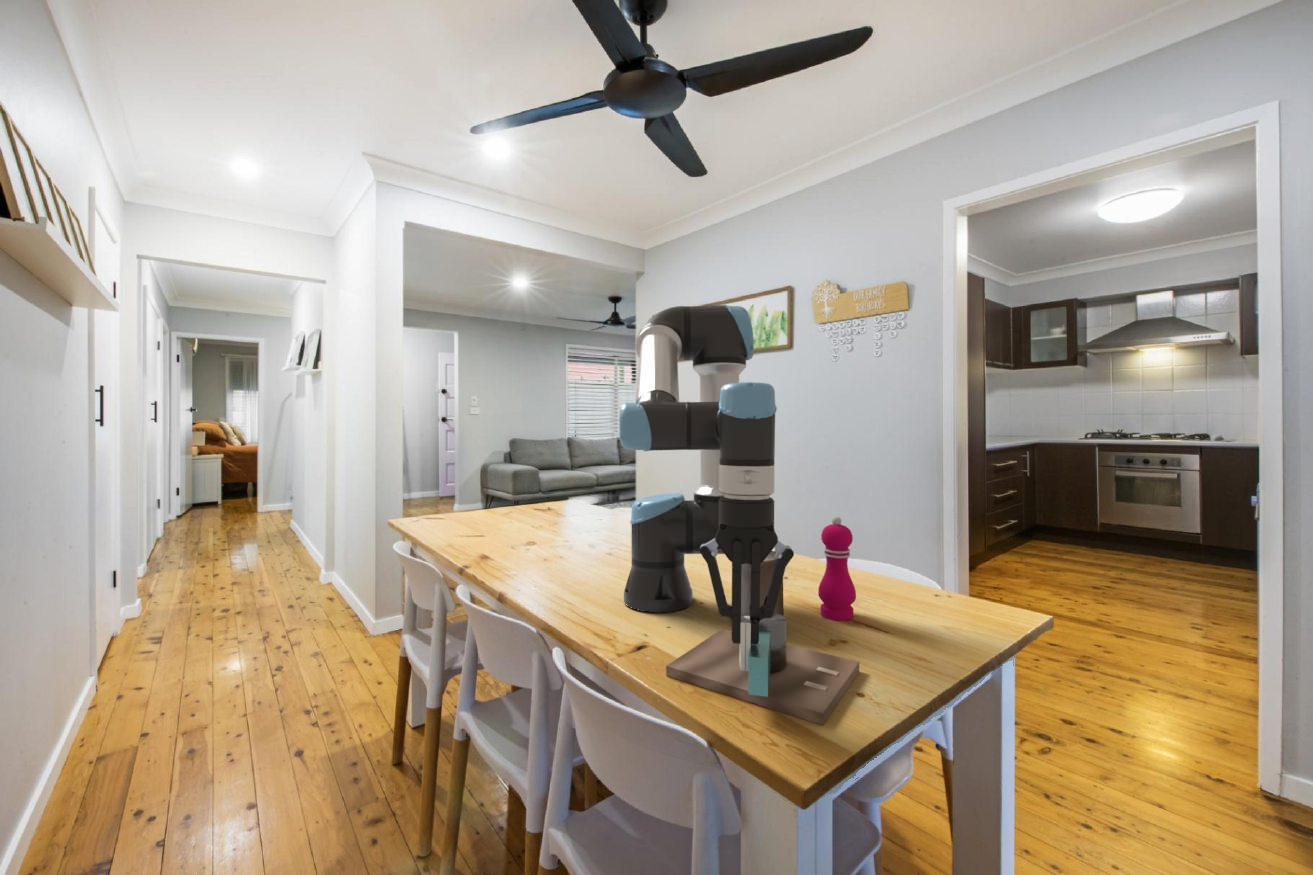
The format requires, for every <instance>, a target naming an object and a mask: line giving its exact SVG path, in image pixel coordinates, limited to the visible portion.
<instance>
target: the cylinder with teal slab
mask: <svg viewBox="0 0 1313 875" xmlns="http://www.w3.org/2000/svg"><path fill="white" fill-rule="evenodd" d="M741 616H750V612H746V613H744V614H742V615H741ZM787 623H788V622H787V618H786V616H782V615H780V614H777V613H773V616H772V617H771V618H764V619H762V620H760V622H759V642H758V644H751V649H750V650H749V655H748V695H757V696H765V697H768V691H769V680H770V672H777V671H780V670H783V669H784V668H785V667H786V666H787V645H788V644H787V640H788V634H787V633H788V632H787Z"/></svg>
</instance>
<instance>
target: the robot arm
mask: <svg viewBox="0 0 1313 875" xmlns="http://www.w3.org/2000/svg"><path fill="white" fill-rule="evenodd" d="M752 325H753V324H752V321H751V316H750V314H749V312H748V310H747V309H746V308H745V307H743V306H741V305H740V306H739V305H727V304H723V305H722V304H720V305H693V306H691V305H688V306H684V305H680V306H679V305H676V306H672V307H669V308H666V309H663V310H661V311H659V312H657V313H656V314H653V316H651V317H650V318H649V319H648V320H647V321H646V322H645V323H644V324H643V325H642V326H641V328H640V330H639V332H638V333H637V336H636V341H635V352H636V355H637V357H638V369H637V377H636V378H637V379H636V391H635V399H634V400H635V401H633V402H632V401H631V402H626V403H623V404H622V405H621V406H620V410H619V423H618V424H619V429H618V430H619V441H620V445H621V446H622V447H623V449H625V450H629V451H630V450H632V451H633V450H634V451H644V452H649V451H685V450H687V451H699V452H700V483H699V486H698V487H697V488H695V490H694V491H693V500H686V499H685V496H684V494H683V493H680V492H679V493H678V492H677V493H676V492H675V493H661V494H656V495H651V496H646V497H642V498H638V499H637V500H635V501H634V502H633V503H632V505H631V513H630V514H631V516H630V518H631V519H630V521H629V523H630V524H631V566H630V570H629V574H628V577H627V581H626V583H625V588H624V590H623V603H624V602H625V604H627V605H628V606H629V607H632V608H635V609H639V610H643V611H642V612H644V611H649V612H648V613H670V612H676V610H677V611H680V609H681V610H684V609H686V608H688V607H690V606H691V605H692V604H693V596H694V595H693V593H694V592H693V589H692V587H691V583H690V579H689V577H688V572H687V570H686V567H685V555H701V557H702V558H703V559H704V561H705V562H706V564H707V569H708V571H709V572H708V573H709V577H710V580H711V585H712V589H713V593H714V597H715V601H716V605H717V609H718V613H719V615H720V616H722V617H727V618H729V619H730V620H731V631H732V641H733V643H736V644H740V660H739V662H740V670H744V671H748V655H749V650H750V649H751V644H758V642H759V622H760V620H762V619H764V618H771V617H772V616H773V613H774V609H775V605H776V602H777V598H778V594H779V590H780V587H781V583H782V579H783V580H784V575H785V571H786V567H787V566H788V565H789V563H790V562H791V560H792V559H793V558H794V555H795V554H794V550H793V549H792V547H791V546H790V545H787V544H784V542H781V541H780V540H779V537H778V535H777V532H776V530H775V500H774V498H773V497H771V495H773V494H775V450H776V448H775V444H776V442H775V441H776V439H775V438H776V413H777V405H776V394H775V388H774V387H773V385H771V384H770V383H766V382H752V381H751V382H750V381H747V382H744V381H743V382H740V375H741V373H742V372H743V371H744V370H745V369H746V368H747V361H750V360H752V359H753V356H754V351H755V349H754V348H755V347H754V332H753V326H752ZM679 361H692V369H693V371H694V372H696V373H697V375H698V376H699V401H680V389H679V388H680V386H679V365H678V362H679ZM773 550H774V551H775V552H774V555H775V557H776V559H775V562H774V566H773V570H772V573H771V577H770V581H769V585H768V588H767V592H766V596H765V599H764V603H763V606H761V607H760V571H761V563H762V562H763V561H764V560H765V559H766V557H767V556H768V555H769V553H770V552H771V551H773ZM718 555H725V556H726V558H727V559H728V560H729V562H731V605H730V604H728V602H727V598H726V594H725V589H724V585H723V582H722V577H721V573H720V570H719V569H720V568H719V565H718V561H717V558H716V557H717V556H718ZM745 563H747V564H750V610H749V612H750V616H741V571H742V564H745ZM625 604H624V605H625ZM628 606H627V607H628ZM629 607H628V608H629ZM632 608H631V609H632ZM635 609H634V610H635ZM639 610H638V611H639Z"/></svg>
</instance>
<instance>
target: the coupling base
mask: <svg viewBox="0 0 1313 875" xmlns="http://www.w3.org/2000/svg"><path fill="white" fill-rule="evenodd" d="M739 660H740V644H736V643H733V641H732V630H727V629H720V630H718V631H716V632H715V633H714V634H711V635H710V636H709V637H708V638H706V639H705V640H702V641H701V642H700V643H699V644H697V645H696V646H694V647H692V648H691V649H690V650H688V651H687V652H685V653H683V654H682V655H680V656H679V657H678V658H676V659H675V660H673V661H671V662H670V663H668V664H666V666H665V668H666V673H665V676H666V677H669V678H673V679H676V680H679V681H682V682H685V683H687V684H692V685H695V686H698V687H701V688H704V689H708V690H711V691H714V692H716V693H720V694H723V695H726V696H730V697H733V698H736V699H738V700H741V701H745V702H749V703H752V704H754V705H757V706H761V707H764V708H767V709H771V710H774V711H777V712H780V713H782V714H787V715H789V716H792V717H795V718H799V719H802V720H805V721H809V722H812V723H815V724H817V725H820V726H824V725H825V723H826V722H827V720H828V718H829V717H830V716H831V714H832V712H834V710H835V708H836V707H837V705H838V703H840V701H841V699H842V698H843V697H844V695H845V693H846V692H847V690H848V689H849V687H850V686H851V685H852V683H853V681H854V680H855V678H856V677H857V675H858V674H859V673H860V661H857V660H853V659H851V658H850V659H849V658H844V657H842V656H841V657H840V656H837V655H832V654H829V653H825V652H821V651H820V652H819V651H815V650H810V649H808V648H802V647H799V646H794V645H790V644H787V666H786V667H785V668H784V669H783V670H780V671H777V672H770V680H769V691H768V697H765V696H757V695H748V671H744V670H740V662H739Z"/></svg>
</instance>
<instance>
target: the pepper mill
mask: <svg viewBox="0 0 1313 875" xmlns="http://www.w3.org/2000/svg"><path fill="white" fill-rule="evenodd" d="M831 522H832V524H828V525H826V526H825V527H824V528H823V529H822V530H821V535H820V536H821V537H820V540H821V541H822V544H823V545H824V546H825V547H824V548H823V554H824V556H825V562H826V564H825V571H824V575H823V576H822V579H821V580H820V583H819V586H818V590H817V591H818V597H819V599H820V600H821V602H822V603H821V604H820V614H821V616H822V617H824V618H826V619H829V620H833V621H839V620H840V622H841V621H842V622H843V621H844V620H845V621H849V620H852V619H853V618H854V613H855V612H854V611H855V610H854V607H853V606H852V604H853V603H855V601H856V599H857V593H856V587H855V585H854V582H853V580H852V578H851V575H850V572H849V566H848V562H849V561H848V559H849V558H850V556H851V553H850V552H851V549H849V547H850V546H851V545H852V543H853V540H854V539H853V532H852V531H851V529H850V528H849V527H847V526H846V525H843V524H842V519H841V517H840V516H833V517H832V519H831Z"/></svg>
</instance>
